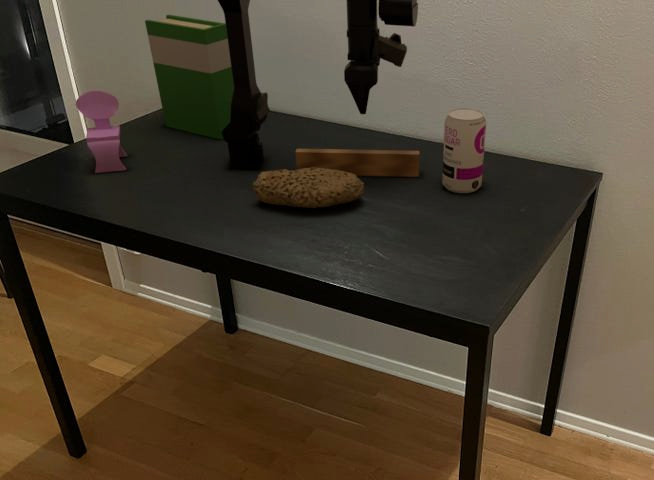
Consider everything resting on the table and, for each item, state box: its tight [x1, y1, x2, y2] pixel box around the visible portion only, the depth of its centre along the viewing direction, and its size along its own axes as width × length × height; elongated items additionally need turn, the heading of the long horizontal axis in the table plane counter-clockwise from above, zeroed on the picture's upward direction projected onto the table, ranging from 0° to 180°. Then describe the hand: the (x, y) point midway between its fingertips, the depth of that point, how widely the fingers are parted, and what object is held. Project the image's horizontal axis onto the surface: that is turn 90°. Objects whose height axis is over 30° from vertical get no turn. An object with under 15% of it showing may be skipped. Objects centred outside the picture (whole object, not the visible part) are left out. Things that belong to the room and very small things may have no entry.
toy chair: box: [75, 89, 128, 174], centre depth 150 cm, size 8×9×15 cm
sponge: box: [252, 167, 366, 209], centre depth 138 cm, size 13×8×20 cm
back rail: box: [294, 148, 420, 178], centre depth 151 cm, size 26×2×5 cm, turn 89°
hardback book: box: [144, 14, 234, 140], centre depth 166 cm, size 18×7×24 cm, turn 61°
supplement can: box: [441, 107, 487, 194], centre depth 143 cm, size 8×8×15 cm
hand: (364, 106), depth 144 cm, fingers open, 9 cm apart
